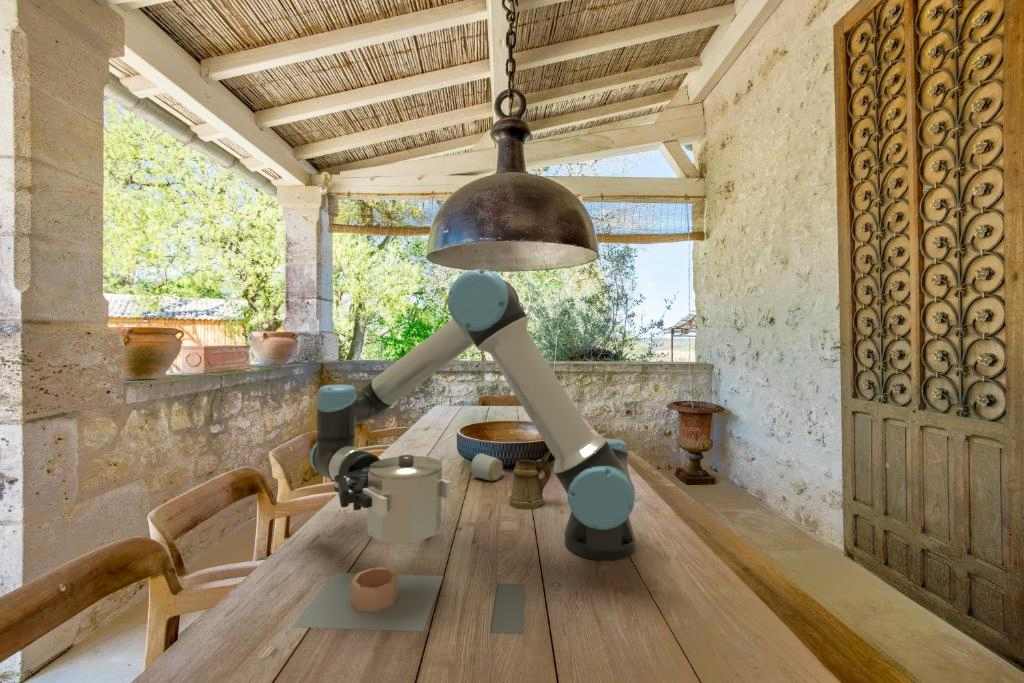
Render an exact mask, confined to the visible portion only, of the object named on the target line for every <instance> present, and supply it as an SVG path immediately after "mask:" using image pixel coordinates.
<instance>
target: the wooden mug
mask: <svg viewBox="0 0 1024 683" xmlns="http://www.w3.org/2000/svg"><path fill="white" fill-rule="evenodd" d="M550 455H552V453H551V451H550V450H549V449H548V452H546V454H545V455H544V456H543V457H542V458H541V459H536V461H535V460H532V459H520V460H516V461H515V466H514V467H513V468H514V469H513V474H514V475H513V481H512V491H511V495H510V497H509V498H510V499H509V505H510V506H512V507H513V508H516V509H520V508H521V509H520V510H531V509H537V508H539V506H540V507H541V506H542V505H543V504H544V502H545V501H544V497H543V496H544V495H543V490H544V489H545V487H546V485H547V484H548V483H549V481H550V478H551V475H552V467H551V465H550V463H549V460H548V458H549V456H550ZM541 470H542V471H543V472H544V475H543V477H542V478H540V474H541V473H542V472H541ZM522 508H523V509H522Z"/></svg>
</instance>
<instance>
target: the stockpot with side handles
mask: <svg viewBox="0 0 1024 683" xmlns="http://www.w3.org/2000/svg"><path fill="white" fill-rule="evenodd" d="M442 473H443V465H442V462H441V461H440V460H439V459H436V458H434V457H433V458H432V457H429V456H422V455H421V456H420V455H419V456H418V455H412V454H402V455H399V456H393V457H389V458H382V459H380V460H379V461H376V462H374V463H372V464H371V465H370V466H369V472H368V489H370V490H372V491H374V492H376V493H378V494H380V495H382V496H384V497H386V498H387V516H384V517H381V516H380V515H378V514H376V513H374V512H373V511H371V510H369V509H368V508H367V518H366V519H367V523H366V524H367V527H366V528H367V529H366V530H367V531H366V534H368V535H369V536H370V537H371V538H374V539H375V540H376V541H378V542H380V543H381V544H414V543H416V542H419V541H423V540H425V539H428V538H430V537H434V536H437V534H438V531H439V529H440V526H441V524H442V497H441V487H442V479H443V478H442V477H443V474H442Z"/></svg>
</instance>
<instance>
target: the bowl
mask: <svg viewBox="0 0 1024 683" xmlns="http://www.w3.org/2000/svg"><path fill="white" fill-rule="evenodd" d="M356 574H357V575H356V576H355V577H354V579H353V580H352V581H351V604H352V605H353V606H354V607H355V608H356V609H357V610H358V611H374V612H377V611H379V610H381V609H384V608H386V607H388V606H391V605H393V604H394V602H395V600H396V598H397V596H398V575H399V573H398V572H396V571H395V570H393V569H392V568H391V567H380V566H379V567H370V568H368V569H365V570H363V571H359V572H357V573H356Z"/></svg>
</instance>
